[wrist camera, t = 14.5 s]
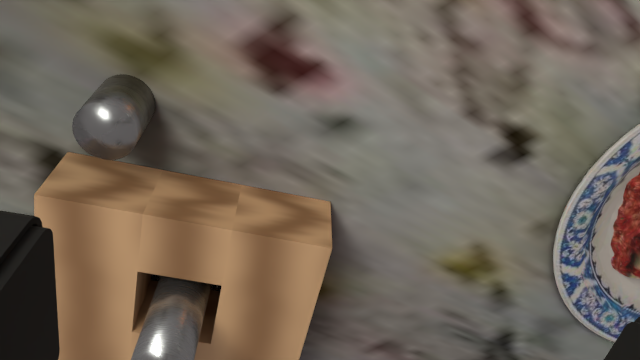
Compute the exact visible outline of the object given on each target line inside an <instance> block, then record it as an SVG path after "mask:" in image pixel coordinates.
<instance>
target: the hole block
mask: <svg viewBox="0 0 640 360" xmlns="http://www.w3.org/2000/svg"><path fill="white" fill-rule="evenodd" d="M34 212H35V216H36V217H39V218H40V220H41V222H42V226H43V227H44V228H49V229H51V230H52V232H53V243H54V260H55V278H56V295H57V312H58V330H59V347H60V351H59V359H58V360H131V358H132V355H133V352H134V349H135V346H136V344H137V341H138V338H139V335H140V332H141V329H142V327H143V324H144V321H145V318H146V315H147V313H148V310H149V307H150V304H151V301H152V298H153V296H154V293H155V290H156V287H157V284H158V282H159V281H154V280H151V277H152V274H155V275H161V276H167V277H173V278H179V279H185V280H191V281H197V282H203V283H209V284H215V285H221V286H222V287H221V292H220V291H214V290H210V294H209V298H208V302H207V307H206V311H205V315H204V319H203V324H202V328H201V332H200V337H199V341H198V345H197V350H196V354H195V358H194V360H299V358H300V355H301V351H302V348H303V345H304V341H305V338H306V335H307V331H308V328H309V325H310V321H311V318H312V315H313V311H314V308H315V305H316V301H317V298H318V295H319V291H320V288H321V285H322V281H323V278H324V275H325V271H326V268H327V264H328V261H329V258H330V254H331V251H332V229H331V206H330V202H329V201H324V200H318V199H313V198H308V197H303V196H297V195H292V194H287V193H282V192H276V191H271V190H266V189H261V188H255V187H250V186H245V185H240V184H234V183H229V182H224V181H219V180H213V179H208V178H203V177H197V176H192V175H187V174H182V173H176V172H171V171H166V170H161V169H155V168H150V167H145V166H140V165H134V164H129V163H124V162H119V161H113V160H105V159H100V158H97V157H92V156H87V155H82V154H76V153H71V152H67V154H66V155H65V156H64V157H63V159H62V160H61V161H60V162H59V164H58V165H57V166H56V168H55V169H54V170H53V171H52V173H51V174H50V175H49V176H48V178H47V179H46V180H45V181H44V183H43V184H42V185H41V187H40V188H39V189H38V190H37V192H36V193H35V194H34Z"/></svg>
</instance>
